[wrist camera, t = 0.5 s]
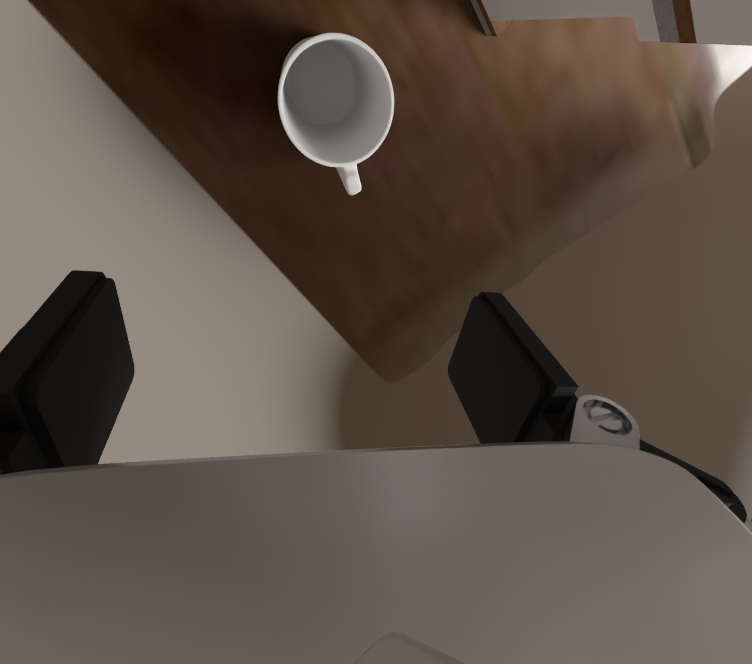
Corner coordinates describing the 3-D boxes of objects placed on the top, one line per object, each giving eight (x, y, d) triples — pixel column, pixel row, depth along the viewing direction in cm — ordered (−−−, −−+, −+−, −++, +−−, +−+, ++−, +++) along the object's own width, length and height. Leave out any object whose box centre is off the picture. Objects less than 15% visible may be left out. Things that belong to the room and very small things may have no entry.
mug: (265, 42, 30) (259, 48, 21) (351, 22, 31) (383, 19, 21) (304, 176, 37) (312, 226, 27) (375, 158, 37) (408, 202, 28)
